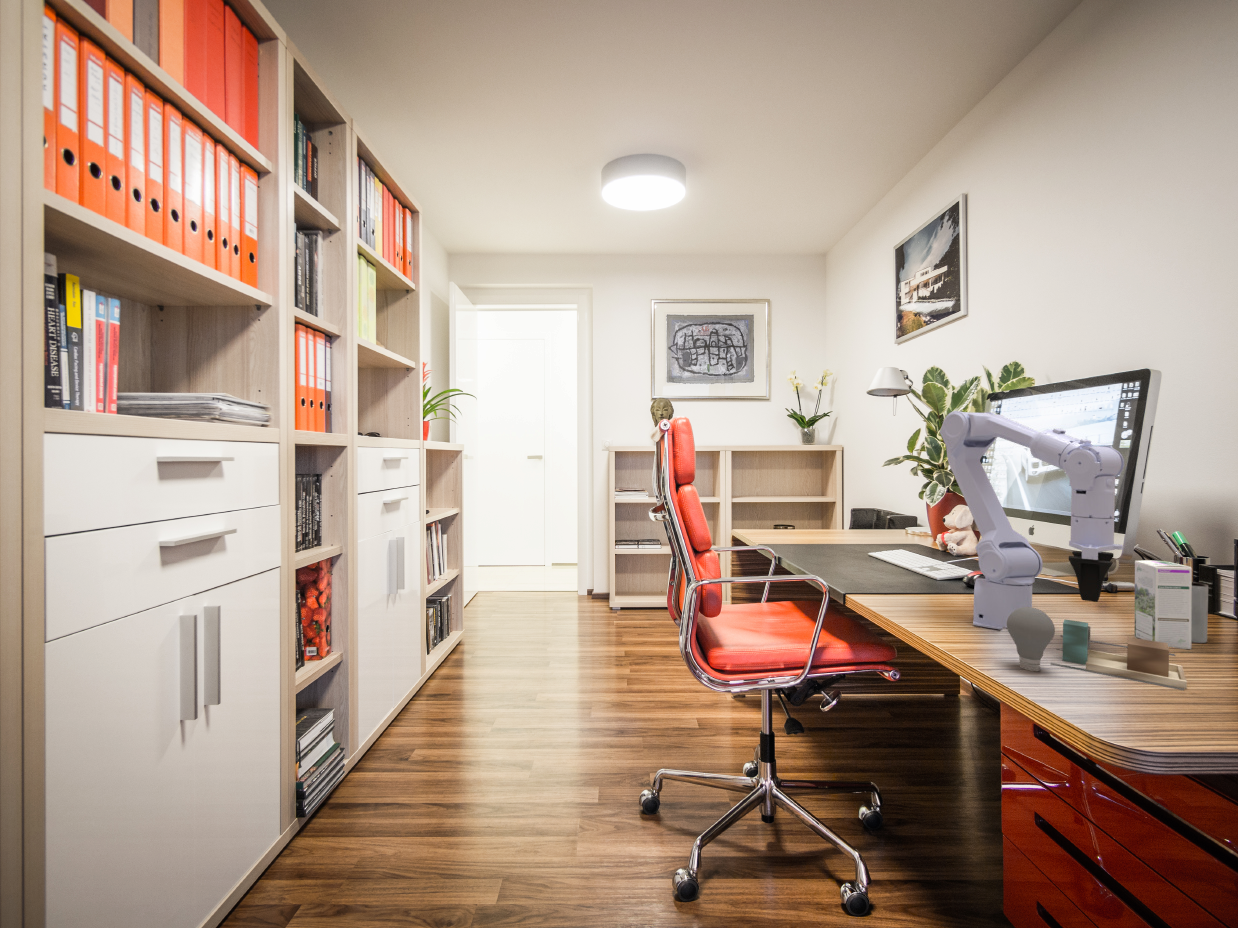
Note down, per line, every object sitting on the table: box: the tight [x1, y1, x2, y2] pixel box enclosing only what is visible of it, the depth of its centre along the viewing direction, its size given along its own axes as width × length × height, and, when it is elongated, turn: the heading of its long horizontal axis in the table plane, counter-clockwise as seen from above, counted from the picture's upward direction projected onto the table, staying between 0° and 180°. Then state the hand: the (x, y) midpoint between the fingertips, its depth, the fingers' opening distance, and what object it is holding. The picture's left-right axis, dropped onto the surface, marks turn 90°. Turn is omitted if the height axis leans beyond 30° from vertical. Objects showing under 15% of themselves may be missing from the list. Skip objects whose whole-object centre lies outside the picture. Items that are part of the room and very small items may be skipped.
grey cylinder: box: [1191, 581, 1209, 644], centre depth 107 cm, size 4×4×10 cm
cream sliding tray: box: [1061, 619, 1188, 690], centre depth 89 cm, size 14×8×6 cm, turn 49°
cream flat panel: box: [1088, 625, 1091, 650], centre depth 96 cm, size 14×8×4 cm, turn 49°
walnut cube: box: [1126, 636, 1170, 677], centre depth 87 cm, size 4×4×4 cm
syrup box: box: [1133, 559, 1193, 650], centre depth 104 cm, size 6×6×14 cm
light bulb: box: [1006, 606, 1056, 672], centre depth 89 cm, size 6×6×10 cm
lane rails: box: [1050, 634, 1186, 691], centre depth 93 cm, size 15×20×1 cm
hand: (1090, 596), depth 99 cm, fingers open, 7 cm apart
